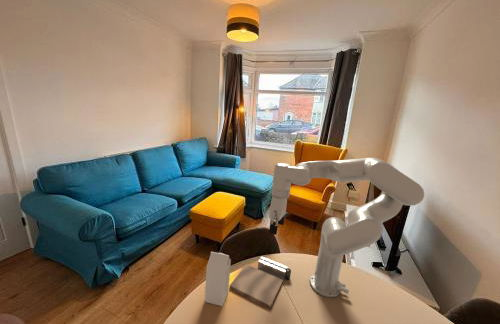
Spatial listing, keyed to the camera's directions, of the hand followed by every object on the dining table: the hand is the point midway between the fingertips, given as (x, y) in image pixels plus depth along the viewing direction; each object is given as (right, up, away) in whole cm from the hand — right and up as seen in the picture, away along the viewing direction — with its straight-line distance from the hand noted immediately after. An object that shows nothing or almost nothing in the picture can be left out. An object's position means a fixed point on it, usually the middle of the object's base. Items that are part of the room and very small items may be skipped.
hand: (276, 228), depth 92 cm
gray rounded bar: (-1, -22, +5) cm, 22 cm away
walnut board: (-9, -23, -4) cm, 25 cm away
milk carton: (-25, -23, -11) cm, 36 cm away
